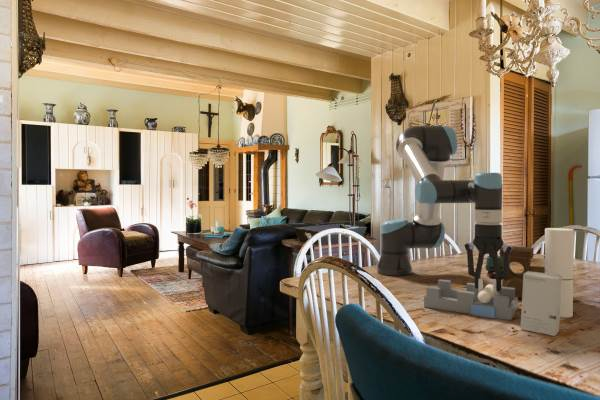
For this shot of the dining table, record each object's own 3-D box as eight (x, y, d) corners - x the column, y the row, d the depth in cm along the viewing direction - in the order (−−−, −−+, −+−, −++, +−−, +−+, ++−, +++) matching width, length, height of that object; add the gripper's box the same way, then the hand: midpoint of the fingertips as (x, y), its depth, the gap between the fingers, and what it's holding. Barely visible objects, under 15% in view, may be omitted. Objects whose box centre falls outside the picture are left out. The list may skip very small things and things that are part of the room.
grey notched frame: (423, 307, 130) (423, 287, 130) (437, 296, 143) (437, 279, 142) (510, 320, 116) (510, 299, 116) (517, 307, 129) (517, 288, 129)
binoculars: (492, 256, 166) (483, 250, 176) (491, 281, 168) (482, 274, 178) (515, 256, 166) (505, 250, 175) (514, 282, 167) (504, 274, 177)
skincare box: (520, 330, 109) (520, 273, 109) (525, 324, 114) (526, 270, 113) (557, 337, 104) (558, 277, 103) (561, 330, 108) (562, 274, 108)
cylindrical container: (568, 311, 125) (569, 228, 124) (576, 318, 118) (577, 230, 117) (541, 309, 127) (542, 227, 126) (547, 316, 120) (548, 230, 120)
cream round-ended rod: (476, 303, 122) (476, 291, 122) (486, 293, 134) (486, 282, 134) (489, 305, 120) (489, 293, 120) (498, 294, 132) (498, 283, 132)
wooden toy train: (498, 297, 142) (498, 248, 141) (502, 290, 151) (502, 244, 151) (568, 305, 131) (568, 253, 130) (567, 297, 141) (568, 248, 140)
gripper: (456, 223, 128) (456, 299, 128) (516, 225, 118) (516, 307, 119) (462, 221, 134) (462, 293, 135) (520, 223, 125) (519, 301, 125)
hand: (487, 300), depth 127 cm, fingers closed on cream round-ended rod, 3 cm apart
